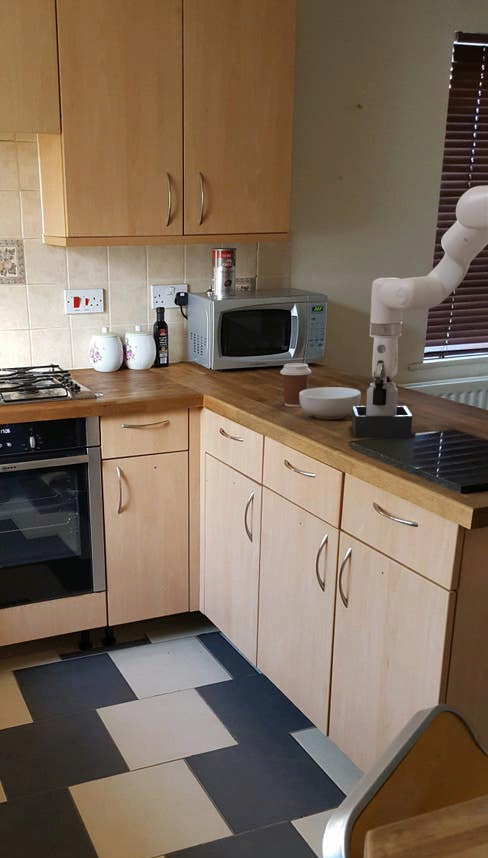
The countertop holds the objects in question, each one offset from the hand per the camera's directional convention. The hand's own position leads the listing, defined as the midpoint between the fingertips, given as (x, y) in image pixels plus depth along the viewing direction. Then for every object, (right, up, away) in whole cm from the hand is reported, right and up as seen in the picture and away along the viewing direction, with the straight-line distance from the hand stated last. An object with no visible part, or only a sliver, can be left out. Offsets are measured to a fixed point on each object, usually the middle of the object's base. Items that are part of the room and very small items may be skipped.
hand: (382, 401), depth 220 cm
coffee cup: (-15, +6, +43) cm, 46 cm away
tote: (0, -7, +3) cm, 8 cm away
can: (0, -7, +3) cm, 8 cm away
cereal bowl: (-9, -1, +24) cm, 25 cm away
